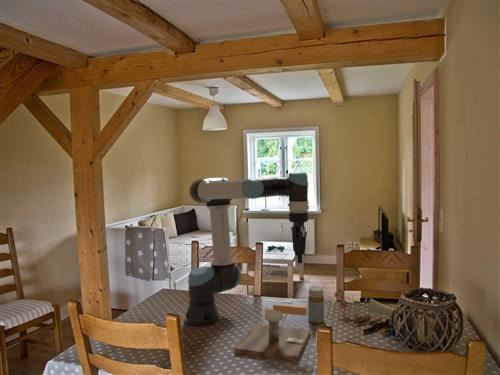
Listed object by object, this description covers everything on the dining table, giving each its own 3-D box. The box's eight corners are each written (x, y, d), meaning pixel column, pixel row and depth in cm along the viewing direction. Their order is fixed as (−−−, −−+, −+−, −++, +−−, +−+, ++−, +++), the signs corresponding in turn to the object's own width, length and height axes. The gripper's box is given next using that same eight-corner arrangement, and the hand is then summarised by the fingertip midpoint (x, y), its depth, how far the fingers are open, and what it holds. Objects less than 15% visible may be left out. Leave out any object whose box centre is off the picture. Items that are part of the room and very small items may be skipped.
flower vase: (407, 343, 174) (328, 315, 186) (409, 325, 184) (334, 300, 196) (413, 322, 169) (331, 295, 181) (415, 305, 179) (338, 280, 192)
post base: (234, 353, 152) (234, 327, 151) (254, 328, 174) (254, 305, 174) (297, 362, 144) (297, 335, 143) (310, 335, 166) (309, 311, 166)
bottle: (324, 325, 177) (323, 291, 176) (307, 324, 178) (307, 290, 177) (324, 319, 183) (324, 286, 182) (308, 318, 185) (308, 285, 184)
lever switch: (262, 320, 156) (262, 306, 156) (267, 314, 163) (267, 300, 163) (304, 325, 151) (304, 310, 151) (308, 318, 158) (308, 304, 157)
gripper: (284, 210, 165) (285, 267, 166) (294, 214, 152) (294, 275, 154) (302, 209, 166) (302, 265, 168) (313, 213, 154) (313, 274, 155)
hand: (299, 270), depth 161 cm, fingers closed
